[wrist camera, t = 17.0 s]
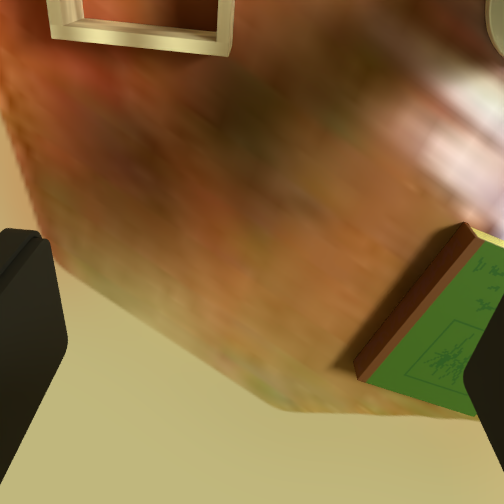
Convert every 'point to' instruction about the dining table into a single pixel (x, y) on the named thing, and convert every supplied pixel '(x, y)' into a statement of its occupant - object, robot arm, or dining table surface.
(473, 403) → the robot arm
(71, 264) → the dining table surface
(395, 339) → the hardcover book
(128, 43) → the wooden frame
